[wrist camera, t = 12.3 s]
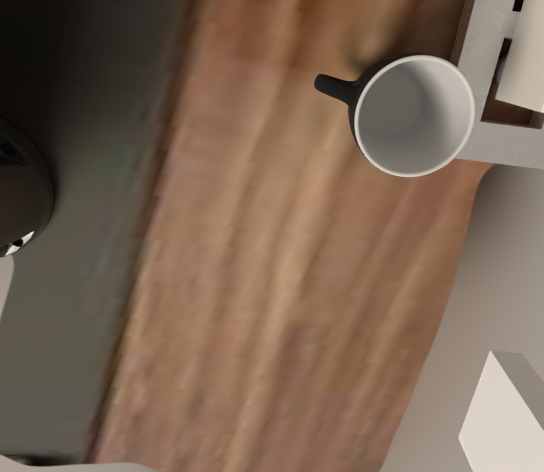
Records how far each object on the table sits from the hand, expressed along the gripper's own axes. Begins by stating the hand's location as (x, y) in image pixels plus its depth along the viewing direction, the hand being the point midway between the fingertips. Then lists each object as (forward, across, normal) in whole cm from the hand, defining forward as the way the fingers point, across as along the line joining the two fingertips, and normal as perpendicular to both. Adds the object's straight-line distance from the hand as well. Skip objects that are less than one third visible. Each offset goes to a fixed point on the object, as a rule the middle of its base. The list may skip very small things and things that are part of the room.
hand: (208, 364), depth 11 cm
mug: (+37, +10, +3) cm, 38 cm away
